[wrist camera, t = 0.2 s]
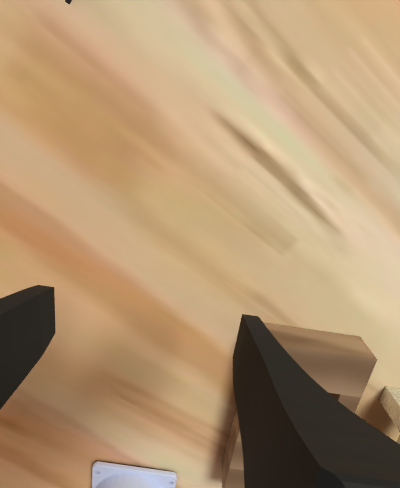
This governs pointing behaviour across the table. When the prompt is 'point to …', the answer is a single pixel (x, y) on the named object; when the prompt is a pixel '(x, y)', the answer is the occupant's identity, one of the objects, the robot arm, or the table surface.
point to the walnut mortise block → (319, 369)
